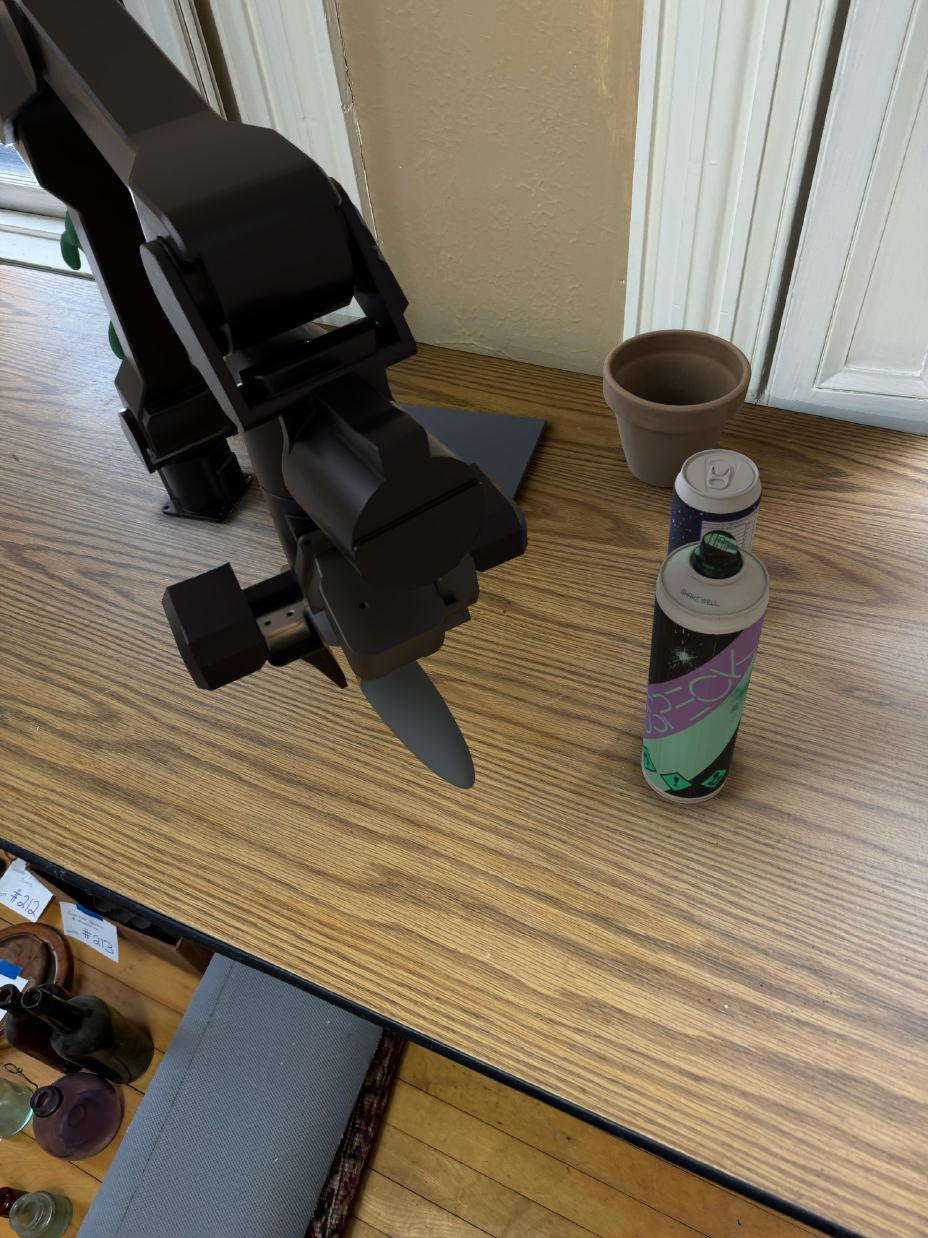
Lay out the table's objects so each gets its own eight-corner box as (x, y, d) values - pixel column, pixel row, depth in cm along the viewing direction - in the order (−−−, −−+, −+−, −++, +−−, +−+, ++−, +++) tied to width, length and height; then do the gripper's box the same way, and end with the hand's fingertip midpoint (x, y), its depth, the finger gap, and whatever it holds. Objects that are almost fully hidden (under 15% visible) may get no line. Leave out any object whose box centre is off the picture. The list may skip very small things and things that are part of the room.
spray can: (632, 736, 57) (648, 511, 42) (714, 725, 57) (759, 495, 42) (651, 809, 53) (675, 590, 39) (739, 798, 53) (797, 574, 38)
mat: (276, 491, 79) (274, 486, 78) (337, 402, 87) (335, 397, 87) (504, 523, 72) (504, 517, 72) (546, 424, 81) (546, 419, 80)
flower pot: (760, 453, 75) (779, 350, 67) (691, 527, 70) (704, 424, 62) (647, 411, 80) (653, 312, 73) (576, 477, 75) (574, 378, 68)
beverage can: (745, 576, 65) (770, 450, 56) (735, 631, 62) (760, 506, 53) (670, 565, 67) (683, 440, 58) (656, 617, 64) (667, 494, 55)
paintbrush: (525, 759, 48) (520, 707, 44) (455, 812, 46) (443, 763, 42) (340, 574, 59) (322, 521, 55) (277, 612, 57) (256, 559, 54)
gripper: (161, 659, 32) (273, 847, 44) (582, 480, 37) (582, 695, 48) (106, 497, 39) (215, 696, 51) (465, 363, 44) (490, 575, 55)
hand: (377, 667), depth 51 cm, fingers closed on paintbrush, 4 cm apart
